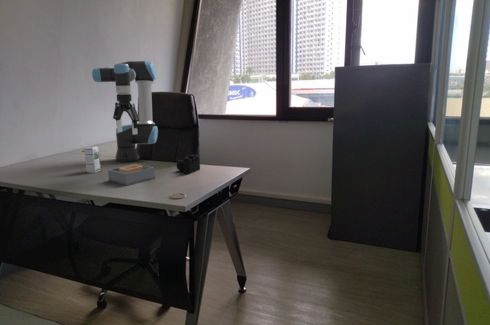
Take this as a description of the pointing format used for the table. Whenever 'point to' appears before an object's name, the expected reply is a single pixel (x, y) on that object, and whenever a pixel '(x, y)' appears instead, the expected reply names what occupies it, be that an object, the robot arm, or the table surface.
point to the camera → (189, 164)
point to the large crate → (131, 175)
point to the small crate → (130, 168)
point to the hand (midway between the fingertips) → (127, 133)
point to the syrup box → (92, 159)
